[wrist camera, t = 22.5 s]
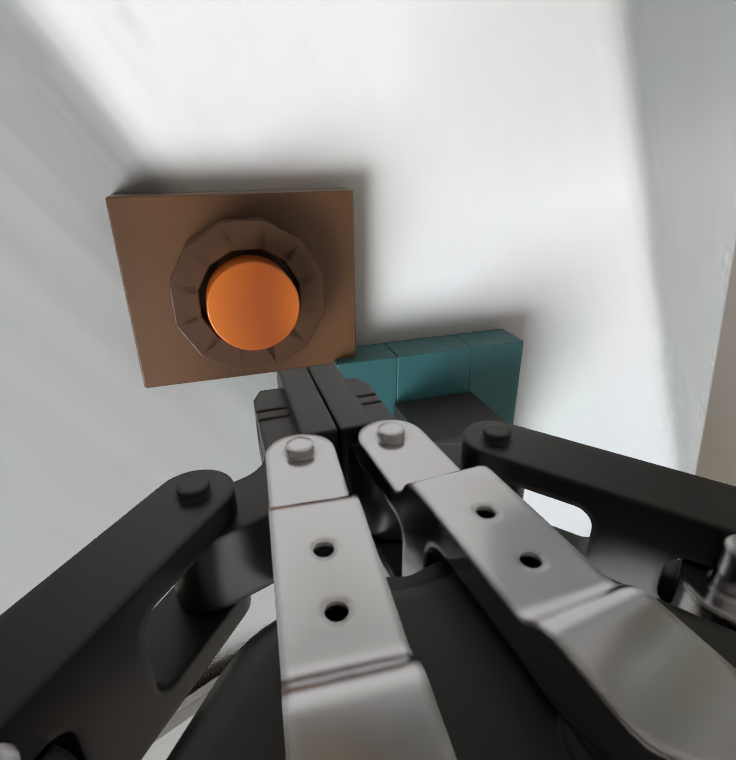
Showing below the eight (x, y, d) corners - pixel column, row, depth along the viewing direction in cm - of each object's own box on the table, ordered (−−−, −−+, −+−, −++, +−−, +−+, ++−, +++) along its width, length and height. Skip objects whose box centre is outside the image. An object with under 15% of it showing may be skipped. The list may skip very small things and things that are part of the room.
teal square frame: (333, 510, 34) (342, 534, 32) (326, 349, 29) (336, 364, 27) (486, 478, 37) (503, 498, 35) (502, 328, 32) (524, 340, 30)
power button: (211, 342, 24) (213, 355, 22) (199, 257, 22) (200, 264, 21) (295, 333, 25) (302, 345, 23) (290, 251, 23) (296, 258, 22)
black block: (379, 467, 34) (420, 536, 28) (379, 385, 31) (425, 441, 25) (447, 454, 35) (501, 517, 29) (452, 375, 33) (512, 426, 26)
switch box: (147, 375, 27) (141, 404, 24) (110, 194, 23) (97, 200, 20) (348, 351, 30) (366, 374, 27) (344, 187, 26) (364, 192, 23)
